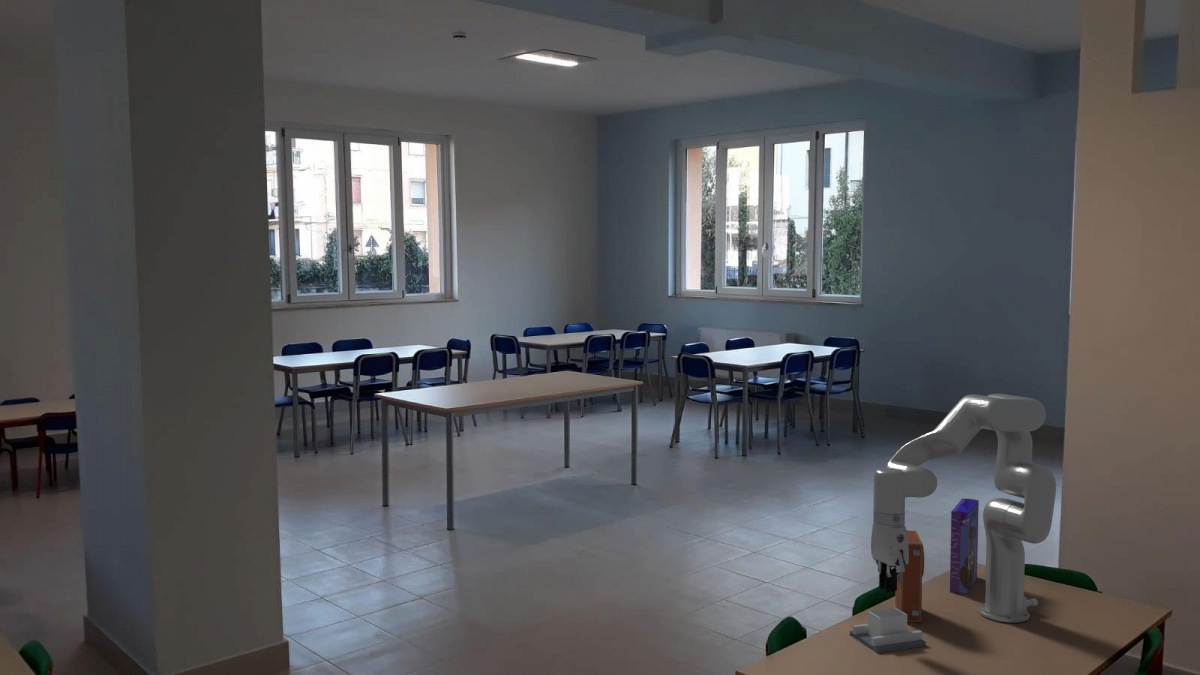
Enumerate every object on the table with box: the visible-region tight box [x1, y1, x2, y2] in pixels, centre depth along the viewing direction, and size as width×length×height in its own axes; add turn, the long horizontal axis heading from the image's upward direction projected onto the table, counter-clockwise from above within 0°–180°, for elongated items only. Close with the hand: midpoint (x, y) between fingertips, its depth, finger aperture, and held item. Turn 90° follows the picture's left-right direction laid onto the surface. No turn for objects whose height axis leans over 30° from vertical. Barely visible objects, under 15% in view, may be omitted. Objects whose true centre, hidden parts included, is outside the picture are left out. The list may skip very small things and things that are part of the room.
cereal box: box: [949, 498, 980, 596], centre depth 276 cm, size 17×5×24 cm, turn 149°
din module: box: [867, 607, 908, 637], centre depth 236 cm, size 8×5×6 cm, turn 107°
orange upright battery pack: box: [892, 529, 925, 623], centre depth 253 cm, size 21×7×15 cm
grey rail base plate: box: [849, 623, 927, 654], centre depth 236 cm, size 14×12×3 cm
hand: (887, 589), depth 235 cm, fingers closed
